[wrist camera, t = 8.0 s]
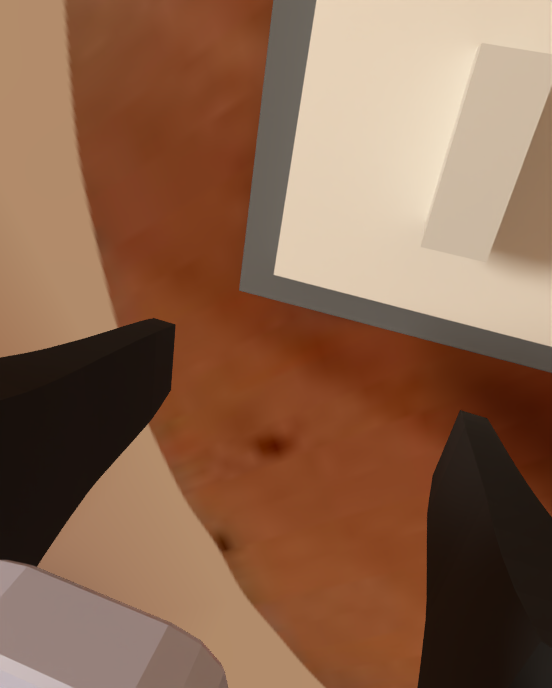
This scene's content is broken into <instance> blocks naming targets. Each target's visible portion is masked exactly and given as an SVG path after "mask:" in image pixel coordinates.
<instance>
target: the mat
mask: <svg viewBox="0 0 552 688" xmlns="http://www.w3.org/2000/svg"><path fill="white" fill-rule="evenodd" d="M315 7H316V0H273V9H272V17H271V26H270V34H269V43H268V51H267V60H266V68H265V77H264V85H263V93H262V102H261V110H260V119H259V127H258V136H257V144H256V153H255V161H254V170H253V178H252V187H251V195H250V204H249V212H248V221H247V229H246V238H245V246H244V255H243V263H242V272H241V280H240V288H239V291H243V292H247V293H251V294H255V295H258V296H262V297H266V298H270V299H274V300H277V301H281V302H285V303H289V304H293V305H296V306H300V307H304V308H308V309H312V310H315V311H319V312H323V313H327V314H331V315H334V316H338V317H342V318H346V319H350V320H353V321H357V322H361V323H365V324H368V325H372V326H376V327H380V328H384V329H387V330H391V331H395V332H399V333H403V334H406V335H410V336H414V337H418V338H422V339H425V340H429V341H433V342H437V343H441V344H444V345H448V346H452V347H456V348H460V349H463V350H467V351H471V352H475V353H479V354H482V355H486V356H490V357H494V358H498V359H501V360H505V361H509V362H513V363H517V364H520V365H524V366H528V367H532V368H535V369H539V370H543V371H547V372H551V373H552V347H551V346H547V345H543V344H539V343H535V342H531V341H527V340H524V339H520V338H516V337H512V336H508V335H504V334H500V333H497V332H493V331H489V330H485V329H481V328H477V327H473V326H470V325H466V324H462V323H458V322H454V321H450V320H446V319H443V318H439V317H435V316H431V315H427V314H423V313H419V312H415V311H412V310H408V309H404V308H400V307H396V306H392V305H388V304H385V303H381V302H377V301H373V300H369V299H365V298H361V297H358V296H354V295H350V294H346V293H342V292H338V291H334V290H331V289H327V288H323V287H319V286H315V285H311V284H307V283H304V282H300V281H296V280H292V279H288V278H284V277H280V276H276V275H274V269H275V263H276V256H277V250H278V243H279V237H280V231H281V224H282V218H283V211H284V205H285V199H286V192H287V186H288V179H289V173H290V167H291V160H292V154H293V147H294V141H295V135H296V128H297V122H298V115H299V109H300V103H301V96H302V90H303V83H304V77H305V71H306V64H307V58H308V51H309V45H310V39H311V32H312V26H313V19H314V13H315Z"/></svg>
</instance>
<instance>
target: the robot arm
mask: <svg viewBox="0 0 552 688" xmlns="http://www.w3.org/2000/svg"><path fill="white" fill-rule="evenodd" d="M174 338H175V324H172V323H168V322H165V321H162V320H158V319H155V318H153V319H148V320H144V321H140V322H136V323H133V324H130V325H126V326H123V327H120V328H117V329H114V330H110V331H107V332H104V333H101V334H98V335H94V336H91V337H88V338H85V339H81V340H77V341H74V342H69V343H66V344H62V345H58V346H54V347H51V348H47V349H43V350H38V351H34V352H29V353H24V354H18V355H13V356H7V357H1V358H0V688H228V685H227V680H226V676H225V671H224V669H223V667H222V665H221V663H220V662H219V661H218V660H217V658H216V657H215V656H214V655H213V654H212V653H211V651H209V649H208V648H207V647H206V646H205V645H204V643H203V642H202V641H201V640H199V639H197V638H196V637H194V636H192V635H191V634H189V633H188V632H186V631H184V630H183V629H181V628H179V627H177V626H176V625H174V624H172V623H171V622H168V621H166V620H163V619H161V618H159V617H156V616H154V615H151V614H149V613H146V612H144V611H142V610H139V609H137V608H134V607H132V606H130V605H127V604H125V603H122V602H120V601H118V600H115V599H113V598H110V597H108V596H105V595H103V594H101V593H98V592H96V591H93V590H91V589H89V588H86V587H84V586H81V585H79V584H77V583H74V582H72V581H69V580H67V579H64V578H62V577H60V576H57V575H55V574H52V573H50V572H48V571H45V570H43V569H40V568H38V567H37V566H38V564H39V562H40V561H41V559H42V558H43V556H44V555H45V553H46V552H47V550H48V549H49V547H50V546H51V544H52V543H53V541H54V540H55V538H56V537H57V535H58V534H59V532H60V531H61V529H62V528H63V527H64V525H65V524H66V522H67V521H68V519H69V518H70V516H71V515H72V514H73V512H74V511H75V510H76V508H77V507H78V505H79V504H80V503H81V501H82V500H83V498H84V497H85V495H86V494H87V493H88V492H89V490H90V489H91V488H92V487H93V485H94V484H95V483H96V481H97V480H98V479H99V478H100V477H101V476H102V475H103V474H104V473H105V471H106V470H107V469H108V468H109V467H110V466H111V465H112V464H113V462H114V461H115V460H116V459H117V458H118V457H119V456H120V454H121V453H122V452H123V451H124V450H125V449H126V448H127V447H128V446H129V445H130V443H131V442H132V441H133V440H134V439H135V438H136V437H137V436H138V434H139V433H140V432H141V431H142V430H143V429H144V428H145V427H146V425H147V424H148V423H149V422H150V421H151V420H152V418H153V417H154V415H155V414H156V412H157V411H158V409H159V408H160V406H161V405H162V403H163V402H164V400H165V398H166V397H167V395H168V394H169V392H170V391H171V380H172V366H173V352H174ZM418 688H552V517H551V516H550V515H549V513H548V512H547V511H546V509H545V508H544V507H543V505H542V504H541V502H540V501H539V500H538V498H537V497H536V496H535V494H534V493H533V491H532V490H531V488H530V487H529V486H528V484H527V483H526V481H525V480H524V478H523V477H522V475H521V473H520V472H519V470H518V469H517V467H516V466H515V464H514V462H513V461H512V459H511V458H510V456H509V454H508V453H507V451H506V449H505V448H504V446H503V444H502V442H501V441H500V439H499V437H498V436H497V434H496V432H495V430H494V429H493V427H492V425H491V424H490V422H489V420H488V419H487V418H484V417H481V416H478V415H474V414H471V413H468V412H464V411H461V410H460V412H459V414H458V417H457V419H456V421H455V424H454V426H453V429H452V431H451V433H450V436H449V438H448V440H447V443H446V445H445V448H444V450H443V452H442V455H441V457H440V460H439V462H438V464H437V467H436V469H435V471H434V474H433V477H432V484H431V490H430V497H429V504H428V512H427V604H426V622H425V630H424V639H423V648H422V657H421V665H420V673H419V681H418Z"/></svg>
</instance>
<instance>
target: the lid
mask: <svg viewBox="0 0 552 688" xmlns="http://www.w3.org/2000/svg"><path fill="white" fill-rule="evenodd" d="M274 275H276V276H280V277H284V278H288V279H292V280H296V281H300V282H304V283H307V284H311V285H315V286H319V287H323V288H327V289H331V290H334V291H338V292H342V293H346V294H350V295H354V296H358V297H361V298H365V299H369V300H373V301H377V302H381V303H385V304H388V305H392V306H396V307H400V308H404V309H408V310H412V311H415V312H419V313H423V314H427V315H431V316H435V317H439V318H443V319H446V320H450V321H454V322H458V323H462V324H466V325H470V326H473V327H477V328H481V329H485V330H489V331H493V332H497V333H500V334H504V335H508V336H512V337H516V338H520V339H524V340H527V341H531V342H535V343H539V344H543V345H547V346H551V347H552V0H316V7H315V13H314V19H313V26H312V32H311V39H310V45H309V51H308V58H307V64H306V71H305V77H304V83H303V90H302V96H301V103H300V109H299V115H298V122H297V128H296V135H295V141H294V147H293V154H292V160H291V167H290V173H289V179H288V186H287V192H286V199H285V205H284V211H283V218H282V224H281V231H280V237H279V243H278V250H277V256H276V263H275V269H274Z"/></svg>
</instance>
